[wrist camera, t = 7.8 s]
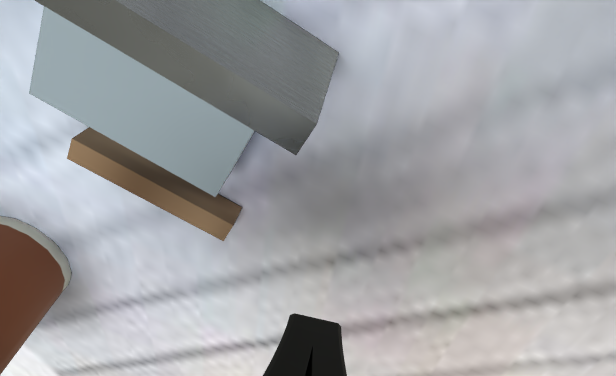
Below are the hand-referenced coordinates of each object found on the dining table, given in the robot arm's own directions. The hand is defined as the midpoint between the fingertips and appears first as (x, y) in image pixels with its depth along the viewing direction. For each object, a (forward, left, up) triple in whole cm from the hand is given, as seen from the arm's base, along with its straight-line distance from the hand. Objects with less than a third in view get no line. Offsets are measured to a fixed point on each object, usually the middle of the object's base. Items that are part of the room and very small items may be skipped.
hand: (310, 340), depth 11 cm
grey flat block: (+7, -4, -9) cm, 12 cm away
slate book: (+8, -1, -9) cm, 12 cm away
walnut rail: (+7, +5, -9) cm, 12 cm away
